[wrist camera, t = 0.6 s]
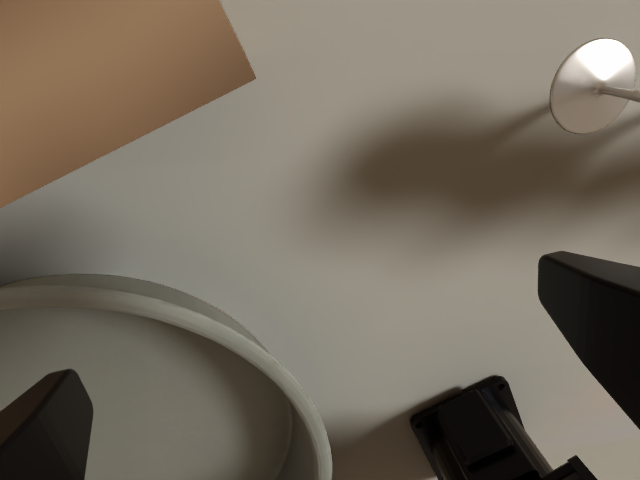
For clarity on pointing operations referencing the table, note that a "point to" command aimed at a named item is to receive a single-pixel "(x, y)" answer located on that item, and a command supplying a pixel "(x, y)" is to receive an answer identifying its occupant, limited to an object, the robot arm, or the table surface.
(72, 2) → the walnut counter shelf
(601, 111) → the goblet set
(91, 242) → the table surface
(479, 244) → the table surface
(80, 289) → the grey round tray
